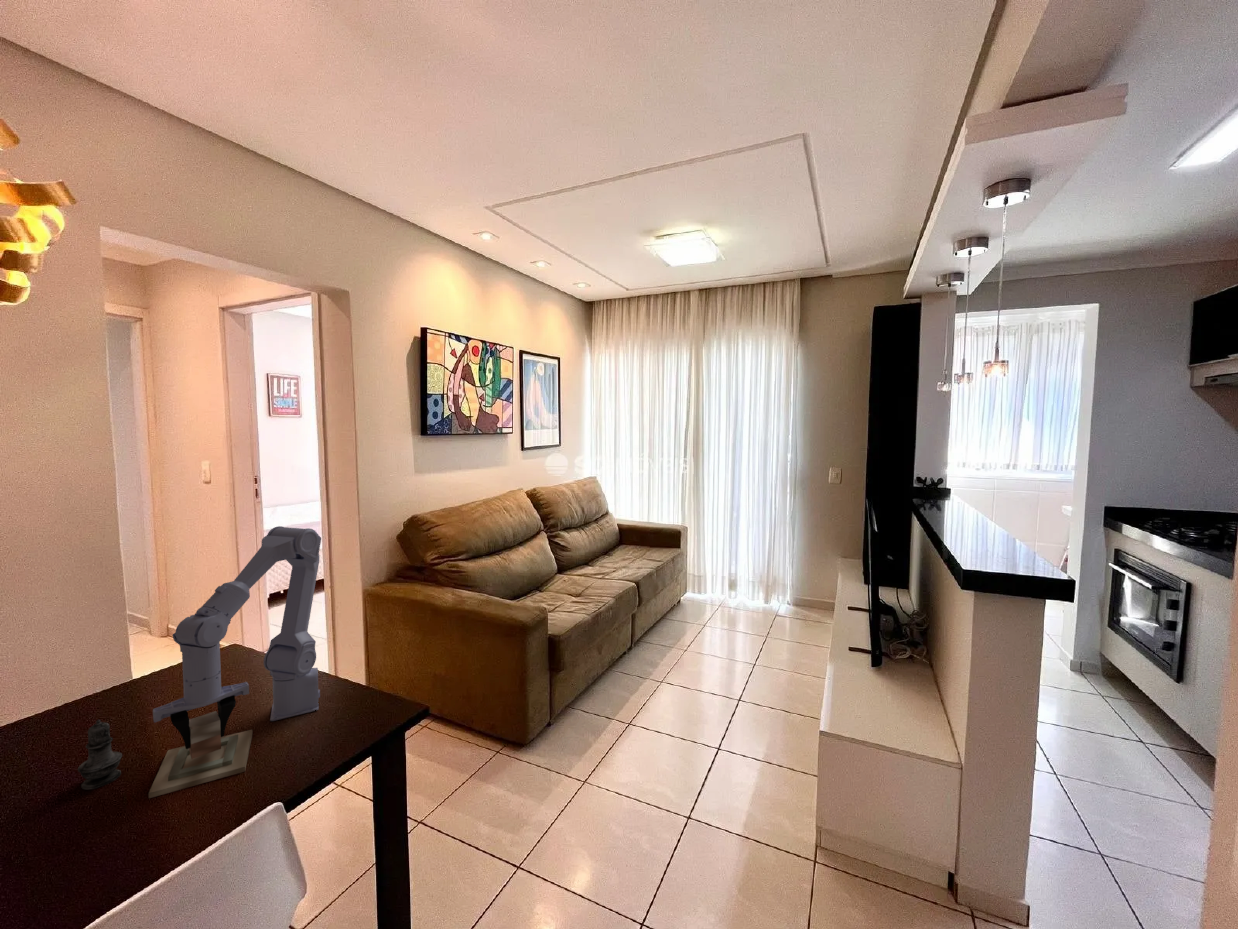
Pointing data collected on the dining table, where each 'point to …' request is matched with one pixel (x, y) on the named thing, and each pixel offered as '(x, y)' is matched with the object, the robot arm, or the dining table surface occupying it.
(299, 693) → the robot arm
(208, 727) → the brown and beige block
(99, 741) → the dark grey chess piece
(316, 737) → the dining table surface
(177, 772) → the pocket board
